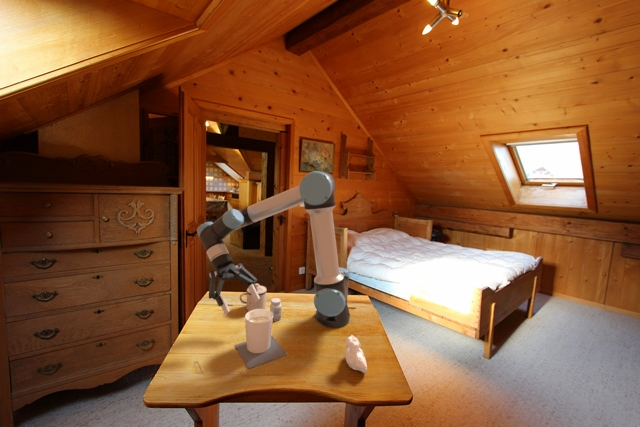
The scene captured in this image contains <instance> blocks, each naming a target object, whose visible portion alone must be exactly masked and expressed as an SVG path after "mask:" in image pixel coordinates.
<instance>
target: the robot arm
mask: <svg viewBox="0 0 640 427" xmlns="http://www.w3.org/2000/svg"><path fill="white" fill-rule="evenodd" d="M300 180H301V181H300V183H299V185H297V186H294V187H291V188H290V189H287V190H284V191H283V192H280V193H277V194H275V195H273V196H271V197H268V198H266V199H265V198H264V199H263V200H260V201H258V202H256V203H254V204H251V205H249V206H245V207H244V208H241V209H235V208H230V209H229V210H227V211H226V212H223V214H222V215H221V216H220V217H219V218H217V219H216V220H215V221H214V222H213V221H205V222H204V223H201V224H200V225H199V226H198V227H197V229H196V232H197V235H198V238H199V241H200V242H201V244H202V245H203V248H204V250H205V253H206V255H207V257H208V259H209V260H210V264H211V265H212V268H213V270H210V272H209V273H208V274H207V275H208V278H209V284H208V285H209V286H208V299H213V301H216V303H217V305H218V307H220V308H221V310H222V311H223V314H224V315H225V316H226V315H228V314H229V313H230V312H231V310H230V308H229V306H228V303H227V301H226V299H225V297H224V295H223V294H221V293H222V289H223V286H224V283H225V281H228V280H232V279H234V280H238V281H240V282H241V283H244V284H245V285H247V286H248V287H247V289H248V288H249V290H250V292H251V294H252V296H253V298H254V300H255V302H257V301H258V300H259V299H260V297H259V295H258V293H257V288H256V286H255V284H256V282H257V281H258V279H257V278H256V277H255V276H254V274H252V273H251V272H250V271H249V270H247V268H245V267H244V265H243V263H238V264H237V265H235V264H234V260H233V258H232V255H231V254H229V250H228V248H227V246H226V244H225V242H224V240H225V239H226V238H227V237H228V236H229V235H231V234H233V232H235V231H237V230H239V229H242V228H244V227H246V226H249V225H252V224H254V223H257V222H259V221H262V220H264V219H267V218H269V217H273V216H274V215H276V214H280V213H282V212H284V211H287V210H289V209H292V208H296V207H297V206H300V205H303V206H304V211H306V212H307V213H308V214H309V219H310V220H309V221H310V227H311V228H310V229H311V236H312V237H311V238H312V244H313V252H314V260H315V268H316V269H315V270H316V276H315V277H314V278H313V283H314V293H315V295H314V297H313V304H314V308H315V309H316V311H315V320H316V321H317V322H318V323H319V324H321V325H322V326H325V327H327V328H328V327H329V328H340V327H341V328H342V327H344V326H347V325H348V324H349V323H350V321H351V318H350V317H351V314H350V309H349V307H348V293H349V283H350V282H349V279H350V271H349V270H348V269H347V268H345V267H340V266H339V258H338V250H337V249H338V248H337V247H338V246H337V241H336V239H337V238H336V232H335V231H336V230H335V222H334V216H333V215H334V214H333V210H335V208H336V195H335V192H336V189H337V182H336V180H335V178H334V176H333V175H332V174H331V173H329V172H327V171H323V170H322V171H321V170H313V171H310V172H308V173H307V174H305V175H304V176H303V178H301V179H300ZM216 277H219V278H218V281H217V282H218V283H217V286H216Z"/></svg>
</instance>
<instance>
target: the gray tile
mask: <svg viewBox="0 0 640 427" xmlns="http://www.w3.org/2000/svg"><path fill="white" fill-rule="evenodd" d="M234 347H235V349H236V350H237V352H238V354H239V355H240V357H241V359H242V360H243V362H244V363H245V366H246V368H248V370H251V369H254V368H256V367H258V366H259V367H260V366H261V365H265V364H267V363H271V362H272V361H275V360H278V359H280V358H282V357H286V356H288V355H289V354H288V353H287V352H286V351H285V349H284V348H283V347H282V346H281V344H280V343H279V342H278V341H277V340H276V339H275V338H274V336H273V335H272V334H271V343H270V347H269V349H268V350H267V351H265V352H263V353H251V352H250V351H248V349H247V345H246V341H243V342H241V343H237V344H235V345H234Z"/></svg>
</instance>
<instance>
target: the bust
mask: <svg viewBox="0 0 640 427" xmlns="http://www.w3.org/2000/svg"><path fill="white" fill-rule="evenodd" d="M345 347H346V350H345V356H344V357H345V361H346V363H347V365H348V367H349V368H350V369H353V370H354V371H359V372H360V373H363V374H366V373H367V371H368V365H367V360H366V356H365V354H364V351H363V350H362V348H361V347H362V343H360V341H359V338H357V337H356V336H354V335H353V334H351V335H350V336H349V337H347V338H346V340H345Z"/></svg>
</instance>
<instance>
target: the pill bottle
mask: <svg viewBox="0 0 640 427" xmlns="http://www.w3.org/2000/svg"><path fill="white" fill-rule="evenodd" d="M270 301H271V302H270V303H271V304H270V305H269V311H271V312H272V313H273V322H277V321H280V320H281V319H282V303H281V302H282V300H281V299H280V298H278V297H275V298H271V300H270Z"/></svg>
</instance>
